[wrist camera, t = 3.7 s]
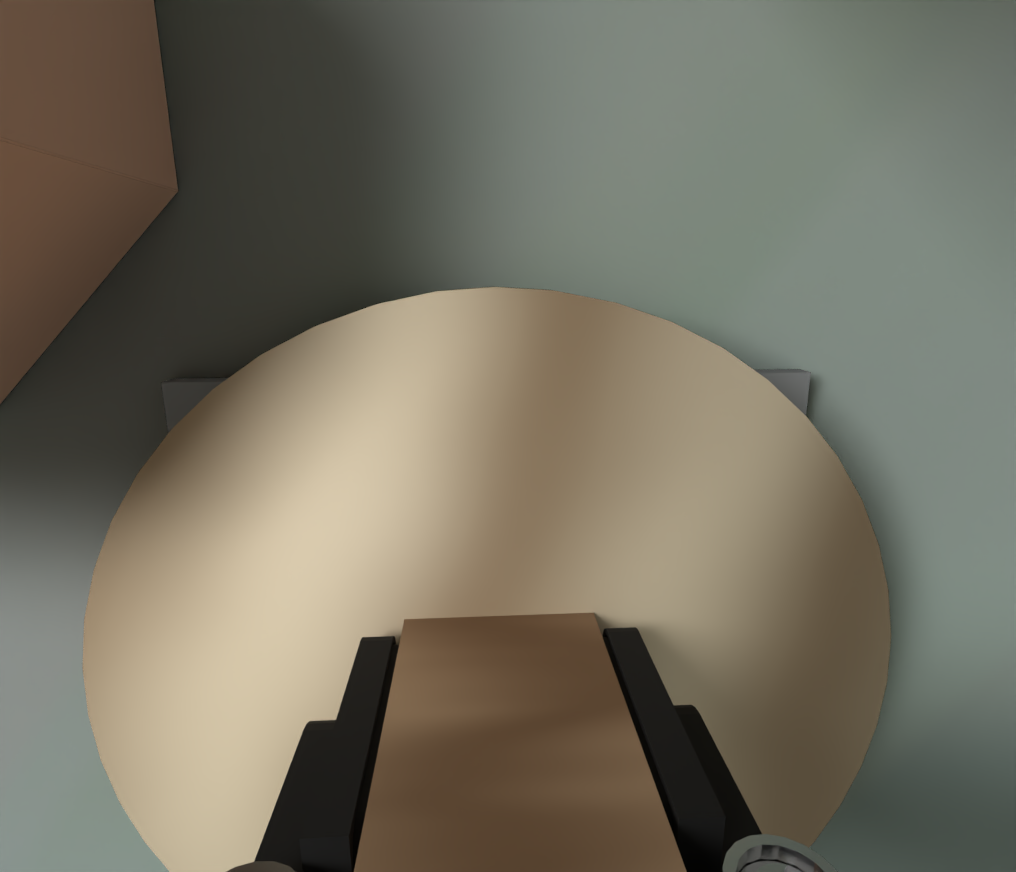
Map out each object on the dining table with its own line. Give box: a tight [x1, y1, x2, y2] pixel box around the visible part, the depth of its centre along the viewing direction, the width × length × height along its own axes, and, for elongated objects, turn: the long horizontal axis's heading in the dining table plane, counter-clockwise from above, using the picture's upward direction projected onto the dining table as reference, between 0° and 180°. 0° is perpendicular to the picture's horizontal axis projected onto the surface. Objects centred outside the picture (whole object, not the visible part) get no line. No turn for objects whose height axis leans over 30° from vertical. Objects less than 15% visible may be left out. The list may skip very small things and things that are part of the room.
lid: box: [83, 287, 891, 872], centre depth 9 cm, size 14×14×6 cm
